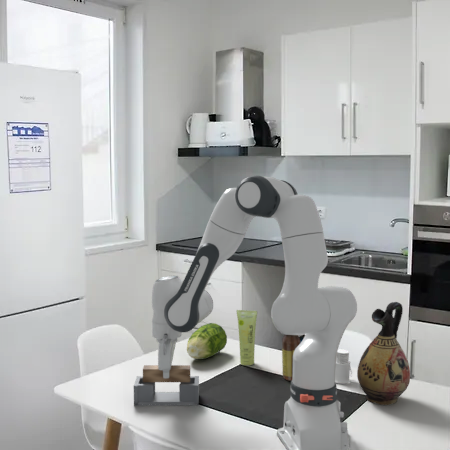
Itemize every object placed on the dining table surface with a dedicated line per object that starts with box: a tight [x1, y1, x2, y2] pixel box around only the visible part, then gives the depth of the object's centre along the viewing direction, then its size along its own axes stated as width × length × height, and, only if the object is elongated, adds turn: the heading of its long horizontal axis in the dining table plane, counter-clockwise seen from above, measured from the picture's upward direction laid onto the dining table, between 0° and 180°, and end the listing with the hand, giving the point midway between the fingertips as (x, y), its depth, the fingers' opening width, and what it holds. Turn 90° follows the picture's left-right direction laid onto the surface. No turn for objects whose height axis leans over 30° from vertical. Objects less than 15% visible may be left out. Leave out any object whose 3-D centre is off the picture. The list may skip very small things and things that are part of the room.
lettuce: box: [186, 322, 228, 360], centre depth 224 cm, size 12×21×11 cm, turn 157°
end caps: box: [133, 375, 200, 406], centre depth 184 cm, size 19×8×6 cm, turn 91°
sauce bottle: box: [281, 334, 301, 382], centre depth 203 cm, size 6×6×20 cm
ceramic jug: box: [356, 301, 411, 406], centre depth 185 cm, size 17×15×30 cm
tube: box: [236, 309, 258, 366], centre depth 217 cm, size 6×5×20 cm
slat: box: [142, 364, 191, 383], centre depth 184 cm, size 14×4×4 cm, turn 91°
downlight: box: [335, 348, 353, 385], centre depth 202 cm, size 8×7×10 cm
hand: (166, 374), depth 184 cm, fingers closed on slat, 3 cm apart
